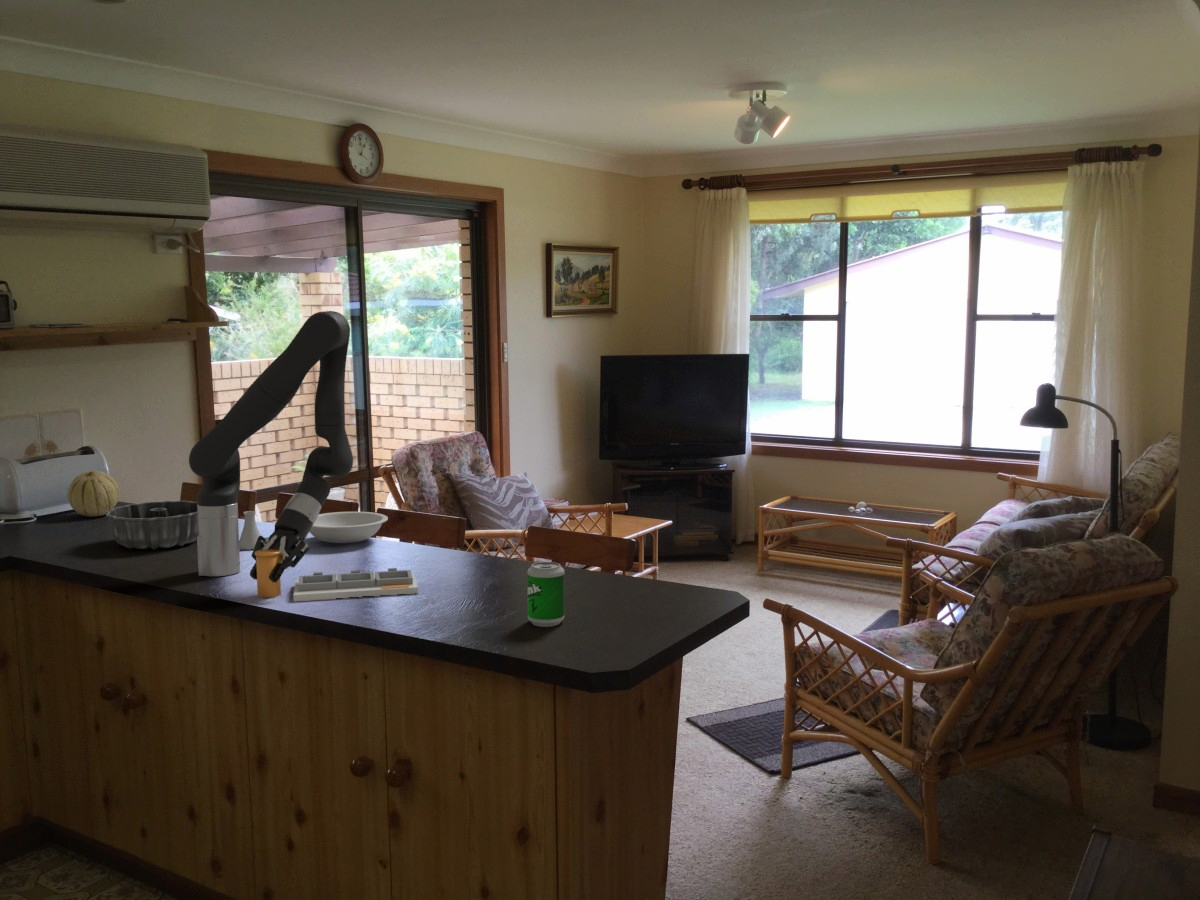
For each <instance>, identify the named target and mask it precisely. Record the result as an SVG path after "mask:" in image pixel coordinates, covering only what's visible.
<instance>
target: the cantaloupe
mask: <svg viewBox="0 0 1200 900" xmlns="http://www.w3.org/2000/svg"><path fill="white" fill-rule="evenodd" d="M119 499H120V488H119V485H118V483H117V481H116V480H115V479H114V478H113V477H112V476H111V475H109V474H108V473H106V472H104V471H101V470H94V471H93V470H90V471H86V472H82V473H81V474H78V475H77V476H76V477H75V478H73V480H72V481H71V483H70V484H69V487H68V489H67V500H68V503H69V506H70V507H71V508H72V510H74V511H75V513H77V514H80V515H81V516H84V517H88V518H89V517H91V518H92V517H93V518H96V517H100V516H101V517H102V516H104V515H106V514H107V513H106V511H110V510H112V509H113V508H116V507H117V506H116V505H117V503H118V501H119Z"/></svg>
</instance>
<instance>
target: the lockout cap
mask: <svg viewBox="0 0 1200 900" xmlns="http://www.w3.org/2000/svg"><path fill="white" fill-rule="evenodd" d="M279 554H281V551H279V550H277V549H263V550H258V551H255V556H256V561H255V563H256V567H257V580H256V588H257V591H256V592H257V597H258V596H259V597H258V598H260V597H267V598H266V599H270V598H269V597H273V598H277V597H276V596H278V597H279V595H280V596H281V595H282V590H281V589H282V587H281V584H282V583H281V578H280V579H279V580H277V582H272V581H271V580H270V579H269V575H270V574H271V572H272V570H273V568H274V567H275V565H276V564H279V563H278V560H279Z"/></svg>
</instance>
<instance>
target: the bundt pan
mask: <svg viewBox="0 0 1200 900" xmlns="http://www.w3.org/2000/svg"><path fill="white" fill-rule="evenodd" d="M105 516H106V518H108V522H109V525H110V529H111V534H112V537H113V539H114V540H115V542H116V543H117V544H119V545H120V546H123V547H125V548H127V549H130V550H134V549H133V548H136V549H139V550H147V549H151V550H153V551H156V550H157V549H159V548H162V549H170V548H173V547H176V546H181V547H183V546H184V545H188V544H191V543H193V542H195V541H196V542H197V537H198V514H197V501H190V500H173V501H172V500H162V501H147V502H145V501H144V502H139V503H130V504H127V505H122V506H115V507H114V508H113V509H112V510H110V511H106V514H105Z"/></svg>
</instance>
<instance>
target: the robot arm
mask: <svg viewBox="0 0 1200 900" xmlns="http://www.w3.org/2000/svg"><path fill="white" fill-rule="evenodd" d="M350 335H351V327H350V323H349V320H348V319H347V318H346V317H345V315H343V314H342V313H340V312H338V311H334V310H325V311H318V312H315V313H313V314H312V315H310V316H309V317H308V318H307V319H306V321H304V323H303V324H302V326H301V327H300V328H299V330H298V331H297V333H296V335H295V336H294V338H293V339H292V340H291V341H290V343H289V344H288V346H287V347H285V349H284V351H282V352H281V354H280V355H279V356H277V357H276V358H275V359H274V360H273V361H272V362H271V363H270V364H269V365H268V366H267V368H265V369H264V370H263V372H261V373H260V374H259V375H258V376H257V378H256V379H255V380H254V381H253V382H252V384H250V386H249V387H247V389H246V390H245V391H244V393H243V394H242V395H241V396H240V398H239V399H238V400H237V401H236V402H235V403H234V404H233V405H232V407H231V408H230V409H229V410H228V412H227V413H226V415H225V416H224V417H223V418H222V419H221V420H220V421H219V422H218V424H217V425H215V426H214V427H213V428H212V429H211V430H210V431H209V432H207V433H206V434H205V435H204V436H203V437H201V439H199V440H198V441H197V442H196V443H195V444H194V446H193V447H192V448H191V450H190V452H189V456H188V463H189V467H190V470H191V471H192V472H193V474H195V475H197V476H199V477H202V478H203V481H202V485H201V488H200V489H199V491H198V492H197V493H196V502H197V514H198V537H197V540H196V543H197V545H196V547H197V564H198V565H197V566H198V567H197V568H198V570H197V571H198V576H199V577H200V576H201V577H202V576H205V577H223V576H224V577H225V576H230V575H234V574H237V573H239V572H241V561H240V560H241V559H240V557H241V556H240V553H241V552H240V549H239V540H240V535H239V534H240V533H239V531H240V529H239V508H238V507H239V506H238V504H239V503H238V496H239V495H238V494H239V492H240V489H241V456H240V452H239V447H241V445H243V443H244V442H245V441H247V440H248V439H249V438H250V437H252V435H254V434H256V433H257V432H258V431H260V430H261V429H263V428H264V427H265V426H267V425H268V424H269V423H270V422H273V420H274V419H276V417H277V416H279V415H280V413H281V412H282V411H283V410H284V409H285V408H286V406H288V404H289V403H290V402H291V401H292V400H293V399H294V397H295V396H296V394H297V392H298V391H299V390H300V387H301V385H302V383H303V382H304V379H305V378H306V376H307V374H308V373H309V371H310V370H311V369H312V368H313V367H314V366H316V364H318V363H319V371H318V372H319V373H318V382H317V385H316V391H315V398H314V431H315V435H316V436H318V437H319V438H321V439H324V440H326V441H327V443H328V446H326V445H325V446H323V445H321V446H318V447H315V448H314V449H312V451H311V452H310V453H309V455H308V456H307V460H306V464H305V467H304V471H303V475H302V479H301V482H300V484H299V485H298V487H297V488H296V490H295V492H294V494H292V496H291V498H290V499H289V500H288V502H287V503H286V505H285V507H284V508H283V510H282V512H281V513H280V515H279V516H278V517H277V518H278V519H277V520H276V522H275V524H274V531H273V532H272V533H271V534H269V536H268V537H267V536H266V537H264V536H263V535H260V536H259V537H258V539H257V542H256V544H255V547H254V549H253V550H252V553H251V558H252V559H254V561H255V563H254V564H253V566H252V568H251V569H250V570H249V571H250V572H249V576H250V577H251V578H252V579H253V580H256V581H257V567H256V556H255V551H258V550H263V549H277V550H279V551H281V554H279V560H278V563H279V564H276V565H275V567H274V568H273V570H272V572H271V574H270V575H269V579H270V580H271V581H272V582H277V580H279V579H280V580H281V577H282V575H283V573H284V572H285V570H287V569H288V568H290V567H291V568H295V567H296V566H297V565H298V563H300V561H301V560H302V559H303V557H304V556H305V555H306V554H307V553H308V551H309V550H310V546H309V545H308V544H307V542H305V540H306V538H307V536H308V535H309V533H310V532H309V531H310V529H311V528H312V526H313V524H314V522H315V521H316V519H317V517H318V515H319V514H320V512H321V509H322V508H323V506H324V504H325V502H326V501H327V499H328V497H329V496H330V493H331V486H330V484H329V482H328V481H326V480H325V479H324V478H323V477H325V476H326V477H333V478H345V477H346V476H348V475H349V474H350V472H351V470H352V468H353V465H354V457H353V456H354V455H353V452H352V448H351V445H350V441H349V438H348V435H347V431H346V408H345V386H346V385H345V382H346V381H345V380H346V367H347V366H346V365H347V358H348V349H349V344H350V343H349V342H350Z"/></svg>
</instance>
